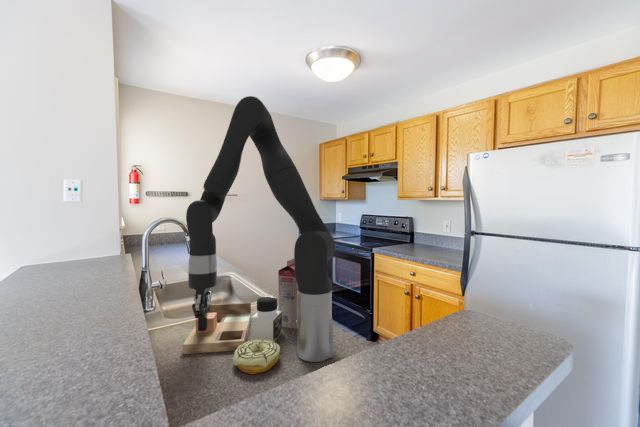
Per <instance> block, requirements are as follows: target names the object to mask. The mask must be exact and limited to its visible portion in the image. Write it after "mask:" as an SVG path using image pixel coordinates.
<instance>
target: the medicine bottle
mask: <svg viewBox="0 0 640 427" xmlns="http://www.w3.org/2000/svg"><path fill="white" fill-rule="evenodd" d="M250 327H251V328H250V331H251V333H250V336H251V337H250V339H251V340H259V339H261V340H270V341H273V342H275V343H276V340H278V338H279V337H280V336H281V334H282V332H283V330H282V328H283V327H282V311H278V306H277V299H276V298H275V297H272V295H265V296H261V297H259V298H257V300H256V312H255V314H253V315H252V316H251V321H250ZM251 340H250V341H251Z"/></svg>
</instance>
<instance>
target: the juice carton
mask: <svg viewBox="0 0 640 427" xmlns="http://www.w3.org/2000/svg"><path fill="white" fill-rule="evenodd" d="M277 275H278V276H277V278H278V283H277V284H278V288H277V290H278V297H277V298H278V306H277V311H282V328H287V329H295V330H298V285H297V282H296V279H295V264H294V258H292V259H289V260H287V261H286V265H285V266H284V267H282V268H280V269H279V270H278V274H277ZM296 320H297V322H296Z"/></svg>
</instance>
